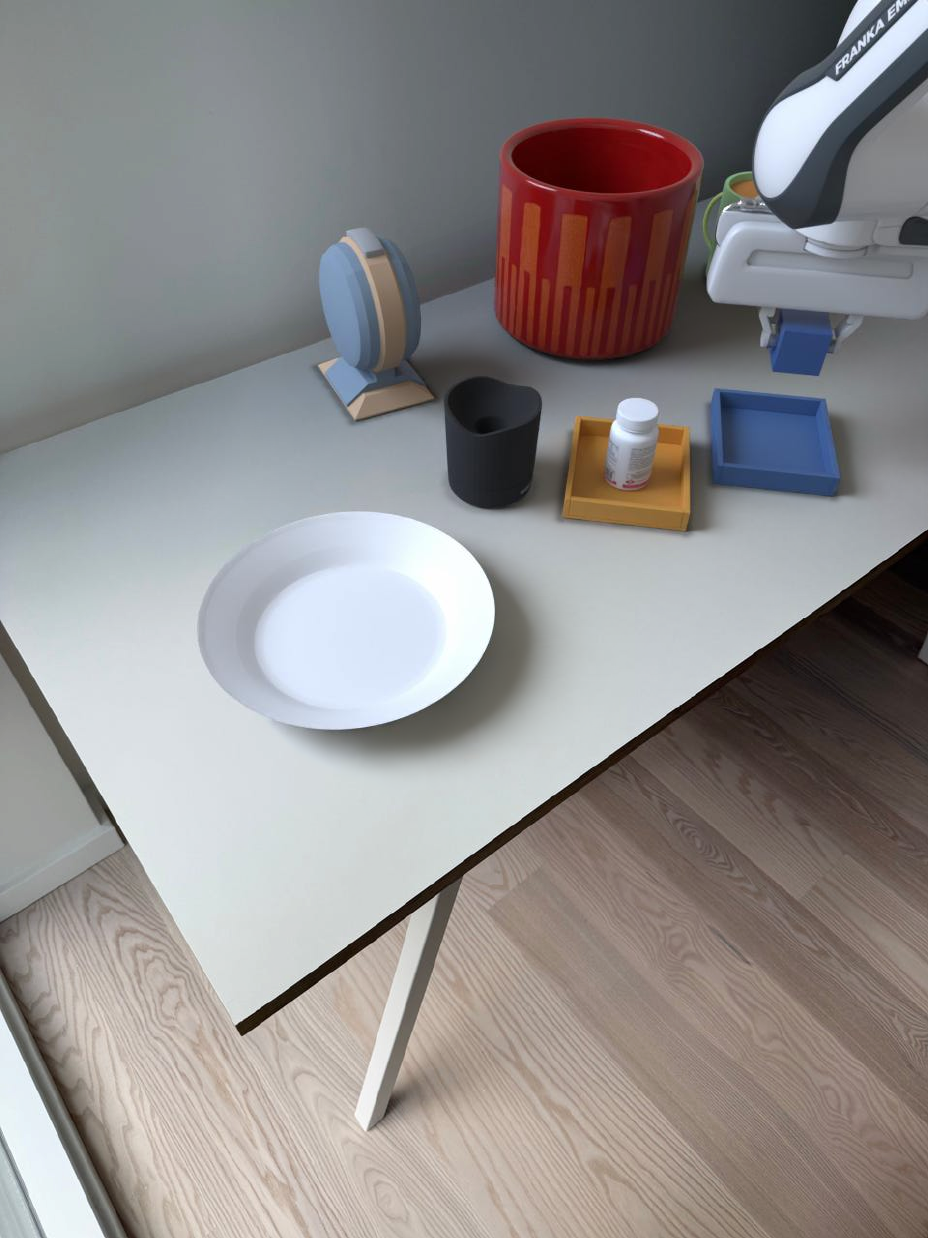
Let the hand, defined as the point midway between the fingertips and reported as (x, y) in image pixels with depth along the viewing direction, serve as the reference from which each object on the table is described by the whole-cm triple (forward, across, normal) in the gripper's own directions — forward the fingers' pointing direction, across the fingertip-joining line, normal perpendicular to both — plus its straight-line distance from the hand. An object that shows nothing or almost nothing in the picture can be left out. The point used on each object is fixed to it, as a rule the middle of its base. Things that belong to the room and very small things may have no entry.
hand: (798, 347), depth 88 cm
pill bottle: (+12, -15, -8) cm, 21 cm away
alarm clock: (+13, -45, +5) cm, 47 cm away
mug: (+12, -2, +40) cm, 42 cm away
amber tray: (+12, -15, -8) cm, 21 cm away
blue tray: (+12, 0, 0) cm, 12 cm away
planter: (+13, -22, +24) cm, 35 cm away
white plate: (+13, -38, -34) cm, 52 cm away
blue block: (+2, 0, 0) cm, 2 cm away
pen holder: (+13, -29, -11) cm, 33 cm away
